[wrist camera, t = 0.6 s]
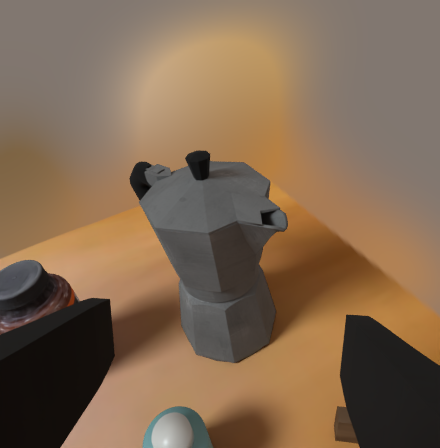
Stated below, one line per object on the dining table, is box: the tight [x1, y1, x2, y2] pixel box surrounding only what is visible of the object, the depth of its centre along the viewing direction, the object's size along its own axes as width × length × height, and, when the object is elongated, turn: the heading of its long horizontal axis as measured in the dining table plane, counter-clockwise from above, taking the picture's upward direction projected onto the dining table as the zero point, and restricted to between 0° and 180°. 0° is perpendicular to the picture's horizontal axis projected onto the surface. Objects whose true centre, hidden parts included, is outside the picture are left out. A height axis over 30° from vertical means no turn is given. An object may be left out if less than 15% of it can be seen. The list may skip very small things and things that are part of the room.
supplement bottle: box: [0, 260, 80, 334], centre depth 29 cm, size 6×6×11 cm
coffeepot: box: [130, 151, 288, 363], centre depth 28 cm, size 15×9×18 cm, turn 50°
